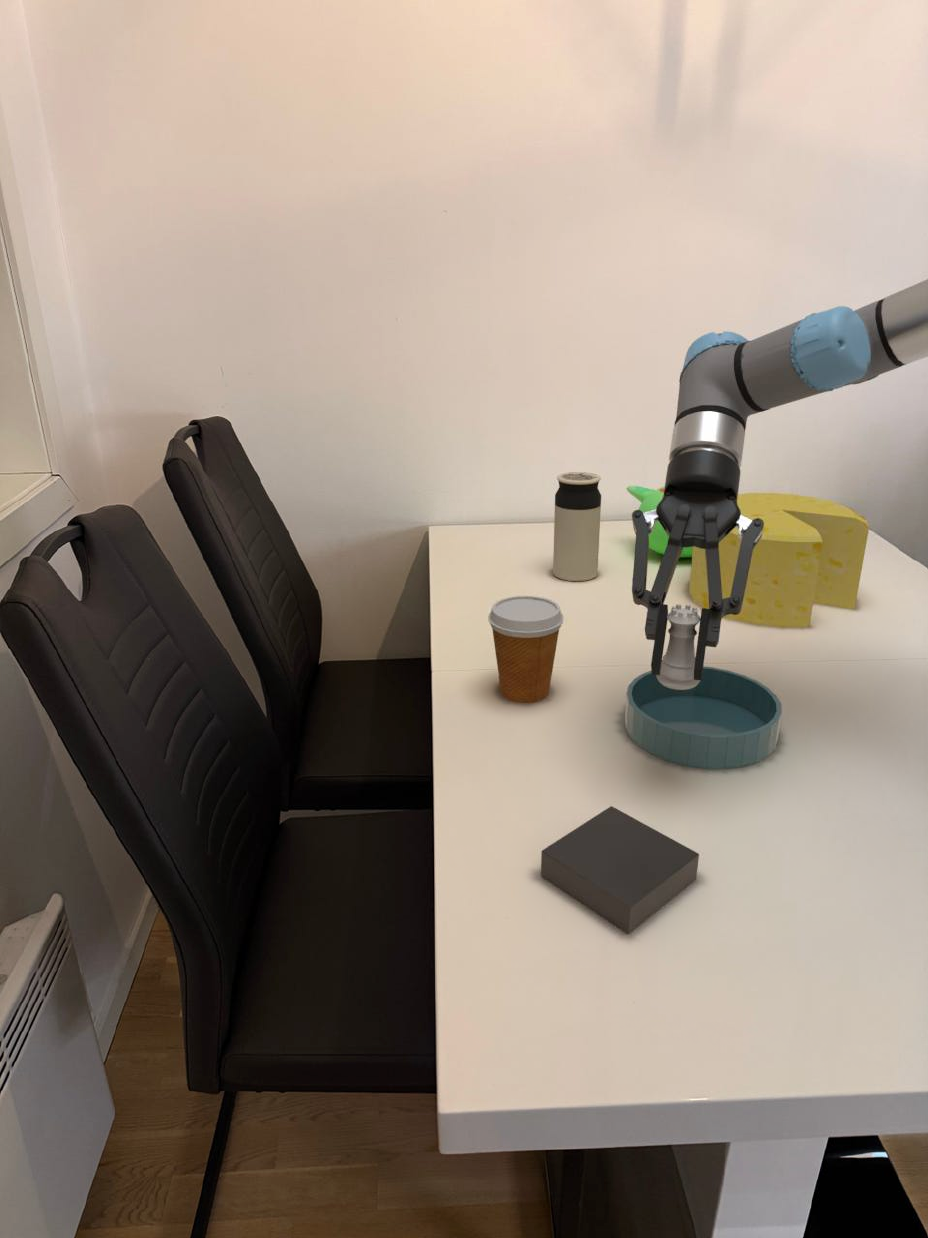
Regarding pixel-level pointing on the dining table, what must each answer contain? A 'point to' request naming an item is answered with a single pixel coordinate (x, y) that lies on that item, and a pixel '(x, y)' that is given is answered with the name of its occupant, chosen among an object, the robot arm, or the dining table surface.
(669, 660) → the rook chess piece
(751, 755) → the tin
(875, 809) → the dining table surface
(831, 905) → the dining table surface
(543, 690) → the disposable coffee cup
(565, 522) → the travel mug
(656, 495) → the toy bird
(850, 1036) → the dining table surface
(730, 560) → the cheese
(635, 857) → the stand
